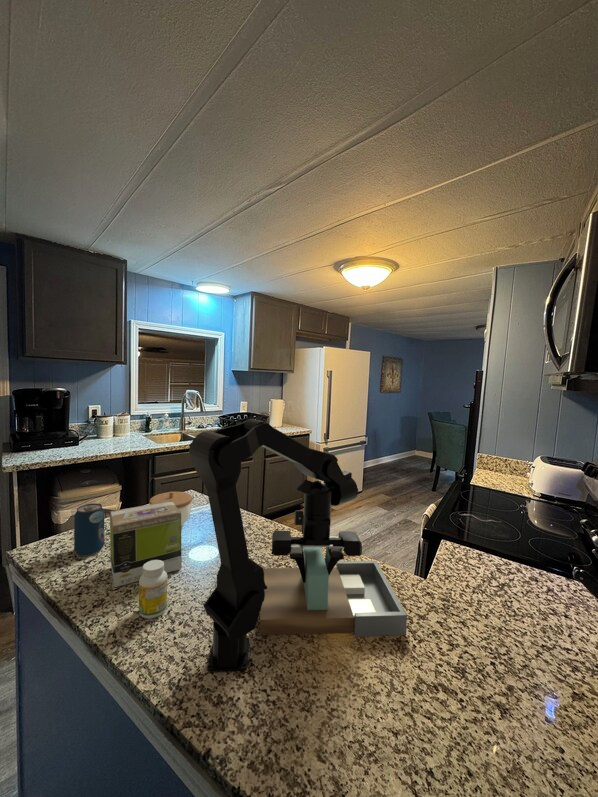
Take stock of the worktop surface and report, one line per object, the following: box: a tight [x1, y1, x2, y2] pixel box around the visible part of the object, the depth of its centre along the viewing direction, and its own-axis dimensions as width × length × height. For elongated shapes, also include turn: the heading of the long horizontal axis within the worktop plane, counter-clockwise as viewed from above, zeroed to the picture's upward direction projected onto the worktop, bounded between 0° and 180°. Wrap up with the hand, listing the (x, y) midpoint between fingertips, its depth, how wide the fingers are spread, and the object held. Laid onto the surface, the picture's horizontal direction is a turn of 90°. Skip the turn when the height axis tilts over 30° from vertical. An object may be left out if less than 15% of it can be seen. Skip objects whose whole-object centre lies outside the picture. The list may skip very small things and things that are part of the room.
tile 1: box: [340, 574, 365, 594], centre depth 77 cm, size 5×5×2 cm
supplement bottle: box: [138, 560, 168, 619], centre depth 68 cm, size 5×5×10 cm
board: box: [259, 567, 354, 636], centre depth 72 cm, size 17×18×3 cm
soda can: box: [73, 503, 106, 557], centre depth 90 cm, size 7×7×12 cm
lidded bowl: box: [149, 491, 193, 528], centre depth 106 cm, size 13×13×11 cm
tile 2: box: [348, 599, 376, 615], centre depth 68 cm, size 5×5×2 cm
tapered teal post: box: [303, 547, 329, 610], centre depth 72 cm, size 12×4×7 cm, turn 4°
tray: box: [335, 560, 408, 638], centre depth 73 cm, size 19×10×4 cm, turn 4°
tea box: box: [109, 501, 183, 588], centre depth 82 cm, size 15×10×15 cm, turn 123°
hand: (314, 581), depth 72 cm, fingers closed on tapered teal post, 4 cm apart
